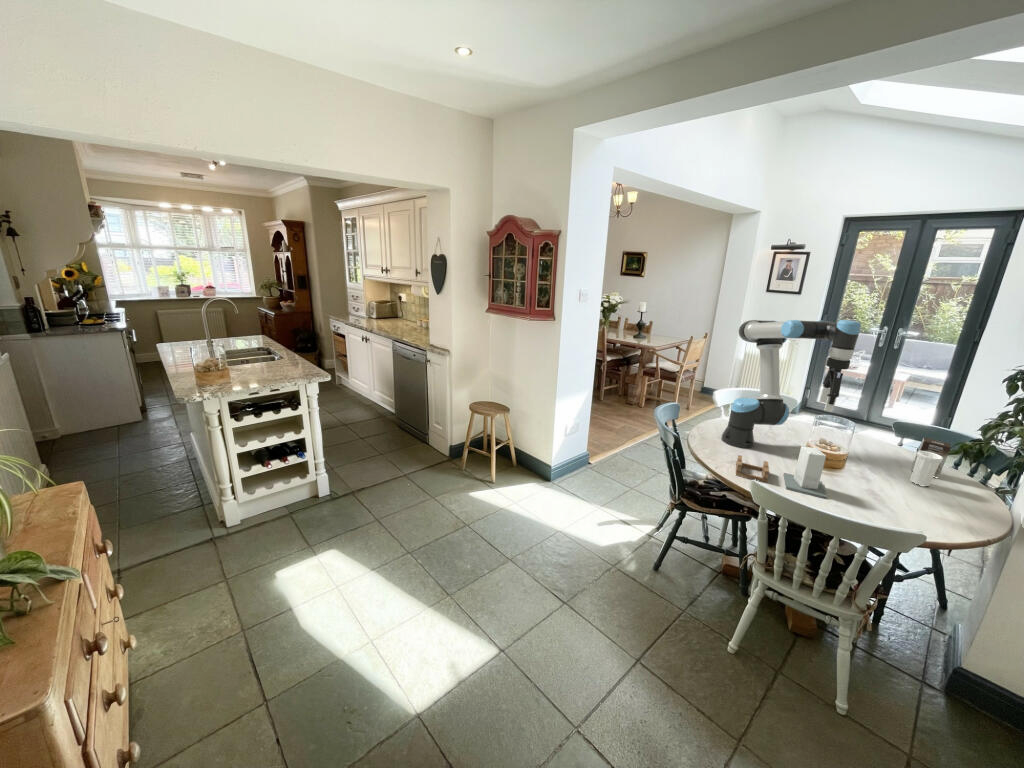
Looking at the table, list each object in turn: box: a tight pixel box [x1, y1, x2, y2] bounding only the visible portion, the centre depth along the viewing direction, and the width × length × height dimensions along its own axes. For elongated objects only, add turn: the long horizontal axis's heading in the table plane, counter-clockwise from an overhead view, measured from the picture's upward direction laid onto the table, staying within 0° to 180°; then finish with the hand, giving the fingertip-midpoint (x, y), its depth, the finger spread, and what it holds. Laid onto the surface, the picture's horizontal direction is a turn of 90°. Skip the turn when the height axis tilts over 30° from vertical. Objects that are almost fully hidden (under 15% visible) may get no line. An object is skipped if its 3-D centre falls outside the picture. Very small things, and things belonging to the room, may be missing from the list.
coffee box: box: [911, 437, 952, 478], centre depth 190 cm, size 9×6×16 cm
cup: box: [909, 450, 943, 486], centre depth 181 cm, size 8×8×14 cm
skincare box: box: [793, 446, 827, 489], centre depth 174 cm, size 8×7×16 cm
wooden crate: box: [735, 454, 770, 484], centre depth 184 cm, size 12×12×5 cm
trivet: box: [782, 472, 828, 500], centre depth 176 cm, size 14×14×1 cm
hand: (825, 406), depth 176 cm, fingers open, 13 cm apart
